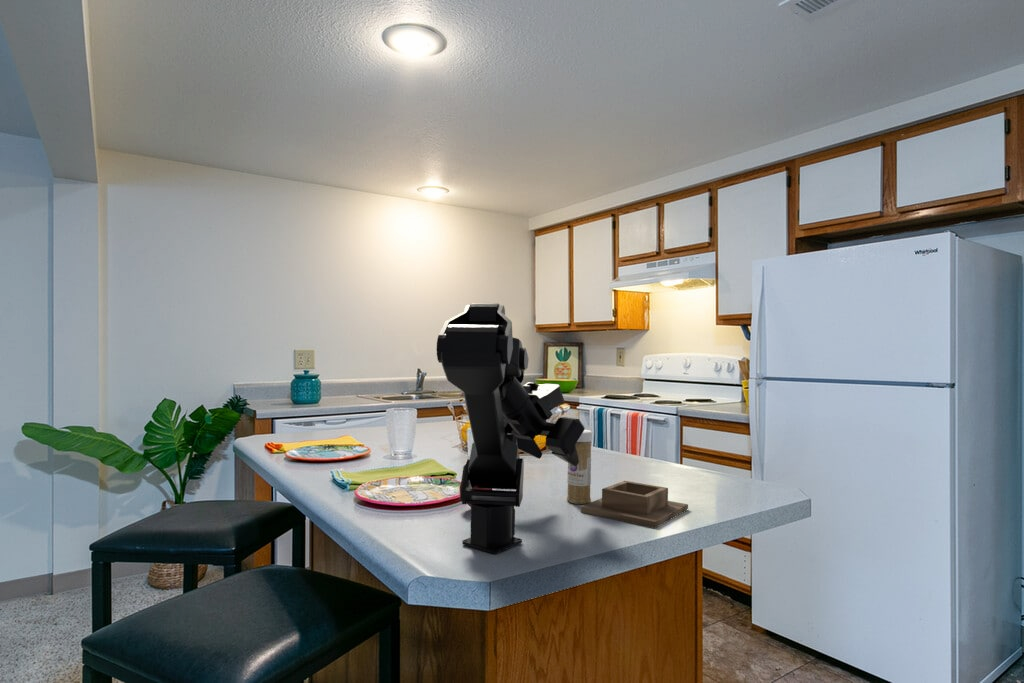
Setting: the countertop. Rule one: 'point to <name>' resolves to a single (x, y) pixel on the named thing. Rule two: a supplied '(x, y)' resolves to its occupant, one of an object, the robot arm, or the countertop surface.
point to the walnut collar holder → (635, 504)
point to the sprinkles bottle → (581, 471)
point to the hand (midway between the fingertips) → (558, 460)
